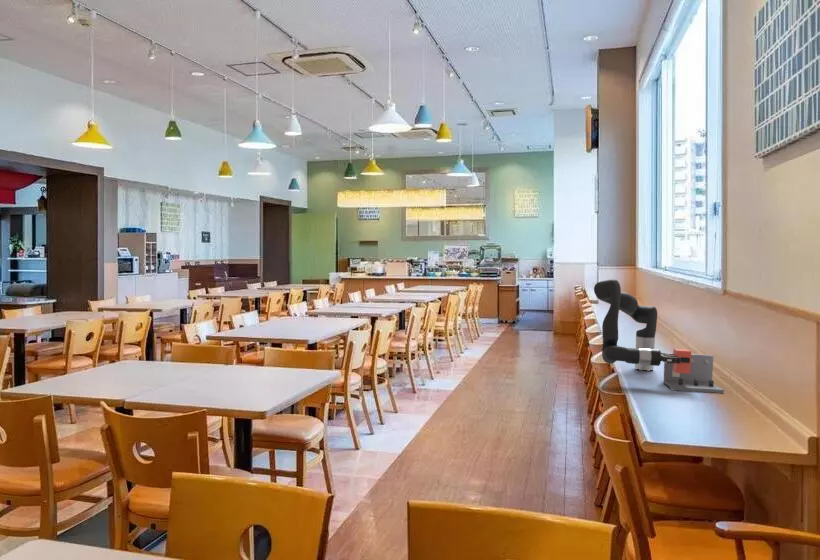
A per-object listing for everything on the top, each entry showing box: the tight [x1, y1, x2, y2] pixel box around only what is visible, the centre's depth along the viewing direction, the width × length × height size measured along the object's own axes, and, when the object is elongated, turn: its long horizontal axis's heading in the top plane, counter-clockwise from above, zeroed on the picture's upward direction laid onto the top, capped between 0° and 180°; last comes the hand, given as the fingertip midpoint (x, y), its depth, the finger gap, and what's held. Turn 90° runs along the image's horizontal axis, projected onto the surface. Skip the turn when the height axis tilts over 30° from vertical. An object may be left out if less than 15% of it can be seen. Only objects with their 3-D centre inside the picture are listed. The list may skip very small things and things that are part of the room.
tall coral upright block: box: [672, 348, 692, 374], centre depth 283 cm, size 6×6×10 cm
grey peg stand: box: [663, 352, 725, 394], centre depth 284 cm, size 17×21×14 cm
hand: (687, 359), depth 282 cm, fingers closed on tall coral upright block, 6 cm apart
